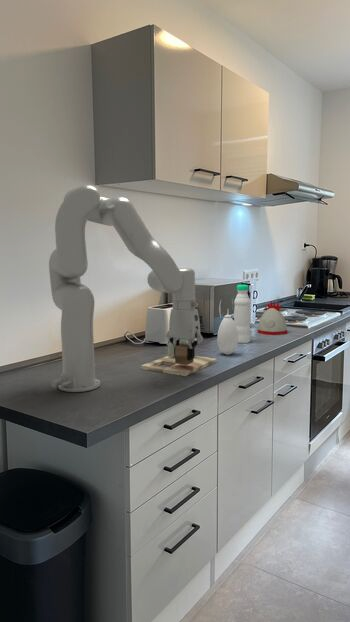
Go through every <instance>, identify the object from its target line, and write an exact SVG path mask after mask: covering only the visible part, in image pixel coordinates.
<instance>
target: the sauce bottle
mask: <svg viewBox="0 0 350 622" xmlns="http://www.w3.org/2000/svg"><path fill="white" fill-rule="evenodd" d="M216 338H217V345H218V348H219V350H220V352H221V353H222V354H225V355H226V356H227V355H228V356H229V355H231V354H233V352H235V351H236V350H237V347H238V344H239V343H238V331H237V327H236V325H235V322H234V318H232V315H231V314H230V313H229V309H227V314H226V315H224V317H223V319H222V320H221V322H220V325H219V327H218V331H217V337H216Z"/></svg>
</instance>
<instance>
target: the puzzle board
mask: <svg viewBox="0 0 350 622" xmlns="http://www.w3.org/2000/svg"><path fill="white" fill-rule="evenodd" d="M217 362H218V359H217V358H214V357H207V356H199V355H195V356H194V359H193V362H192V363H190V364H188V365H184V364H177V363H175V355H174V356H171V357H168V355H166V356H164V357H160V358H158V359H156V360H153V361H150V362H147V363H145V364H142V365H140V369H141V370H144V371H152V372H157V373H163V374H169V375H174V374H175V376H180V375H181V377H187V376H189V375H192V374H193V372H194V373H196V372H198V371H201V370H202V369H204V368H206V367H209V366H211V365H212V364H215V363H217ZM162 365H166V366H162ZM167 366H168V367H167ZM195 371H196V372H195Z"/></svg>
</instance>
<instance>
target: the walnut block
mask: <svg viewBox="0 0 350 622" xmlns="http://www.w3.org/2000/svg"><path fill="white" fill-rule="evenodd" d="M188 348H189V345H188V344H179V345H176V346H175V363H177V364H184V365H188V364H190V363H192V362H193V359H192V360H188Z"/></svg>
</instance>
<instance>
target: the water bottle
mask: <svg viewBox="0 0 350 622" xmlns="http://www.w3.org/2000/svg"><path fill="white" fill-rule="evenodd" d="M236 290H237V294H236V296H235V299H234V301H233V303H234V309H233V320H234V322H235V325H236V327H237V331H238V344H248V343H250V342H251V302H252V301H251V299H250V297H249V294H248V291H249V285H248V284H238V285H237V286H236Z"/></svg>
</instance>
